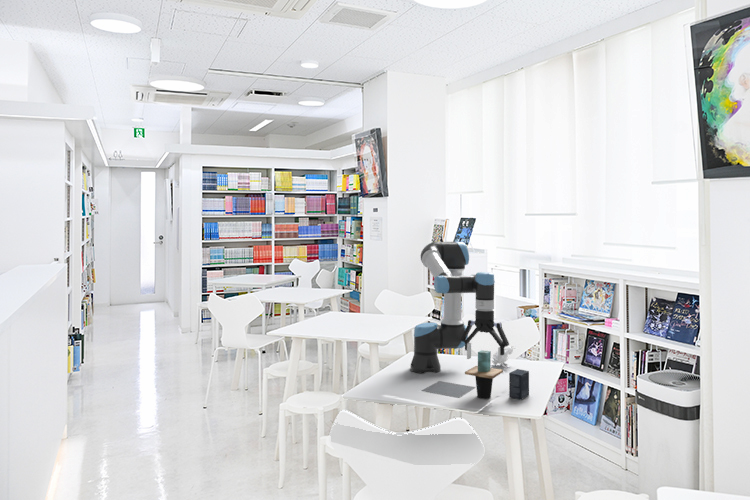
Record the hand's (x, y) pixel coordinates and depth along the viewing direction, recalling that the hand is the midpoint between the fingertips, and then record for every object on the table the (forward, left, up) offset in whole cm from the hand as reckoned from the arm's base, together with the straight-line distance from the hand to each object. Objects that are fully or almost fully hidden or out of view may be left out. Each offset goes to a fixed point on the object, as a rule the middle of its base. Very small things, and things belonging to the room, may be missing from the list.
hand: (484, 360), depth 219 cm
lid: (0, 0, -5) cm, 5 cm away
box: (+11, +12, -16) cm, 23 cm away
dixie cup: (0, 0, -16) cm, 16 cm away
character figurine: (-12, +58, -16) cm, 61 cm away
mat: (-17, +2, -16) cm, 24 cm away
